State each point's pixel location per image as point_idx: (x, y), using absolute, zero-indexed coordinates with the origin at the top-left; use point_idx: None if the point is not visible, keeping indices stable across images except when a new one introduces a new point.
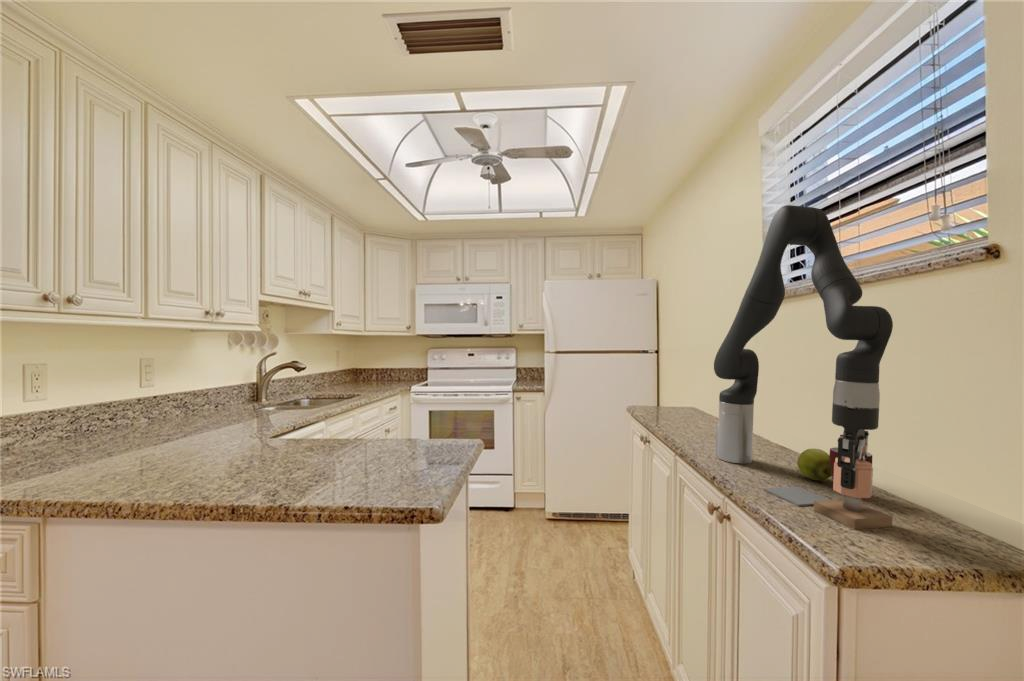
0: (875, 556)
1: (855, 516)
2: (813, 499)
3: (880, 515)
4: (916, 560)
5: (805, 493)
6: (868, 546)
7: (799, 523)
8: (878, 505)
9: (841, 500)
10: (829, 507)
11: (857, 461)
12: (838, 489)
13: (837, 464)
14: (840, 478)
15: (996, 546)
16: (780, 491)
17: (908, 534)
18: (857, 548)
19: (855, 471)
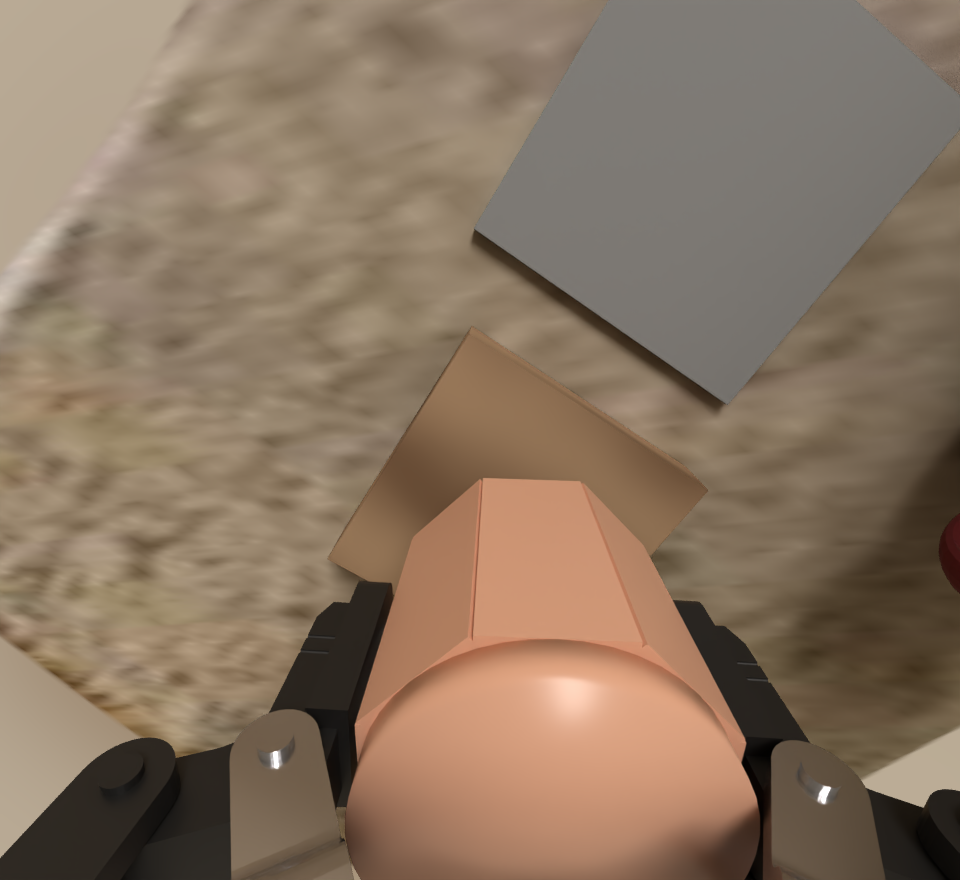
0: (99, 618)
1: (376, 556)
2: (678, 283)
3: None
4: (207, 712)
5: (793, 205)
6: (182, 591)
7: (169, 312)
8: (866, 570)
9: (637, 461)
10: (417, 431)
11: (602, 870)
12: (430, 529)
13: (112, 760)
14: (400, 603)
15: None
16: (705, 25)
17: None
18: (114, 564)
19: (346, 800)
